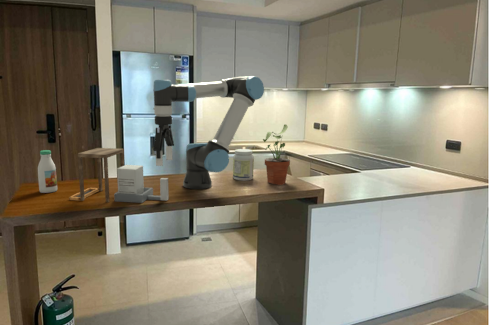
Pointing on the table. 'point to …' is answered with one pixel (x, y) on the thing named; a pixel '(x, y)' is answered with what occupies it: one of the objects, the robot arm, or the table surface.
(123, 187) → the supplement box
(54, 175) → the milk bottle
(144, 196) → the cradle
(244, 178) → the supplement tub
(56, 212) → the table surface
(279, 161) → the potted plant
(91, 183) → the table surface
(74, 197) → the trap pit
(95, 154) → the tunnel
